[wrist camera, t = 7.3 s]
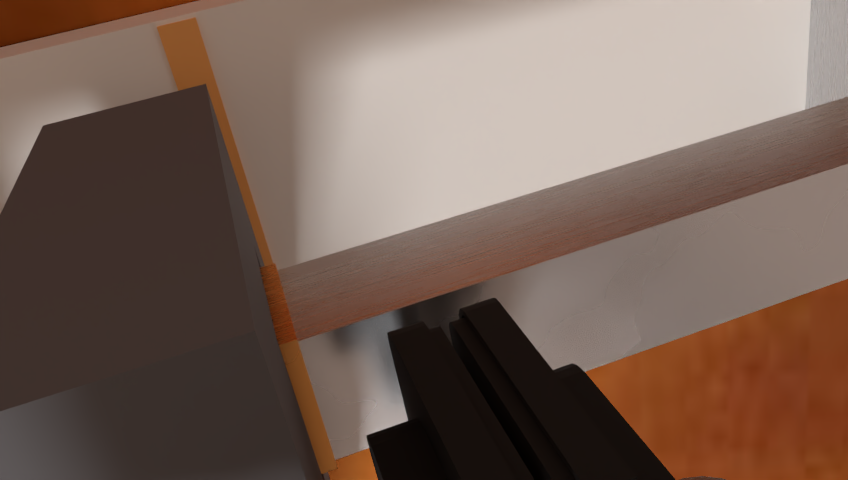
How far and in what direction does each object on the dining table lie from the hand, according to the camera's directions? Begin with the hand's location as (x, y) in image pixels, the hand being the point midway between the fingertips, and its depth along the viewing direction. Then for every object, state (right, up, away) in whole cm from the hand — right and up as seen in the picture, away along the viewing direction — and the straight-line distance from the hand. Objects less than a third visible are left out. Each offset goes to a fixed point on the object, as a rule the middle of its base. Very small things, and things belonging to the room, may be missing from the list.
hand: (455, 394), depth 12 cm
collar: (-5, +1, +5) cm, 7 cm away
